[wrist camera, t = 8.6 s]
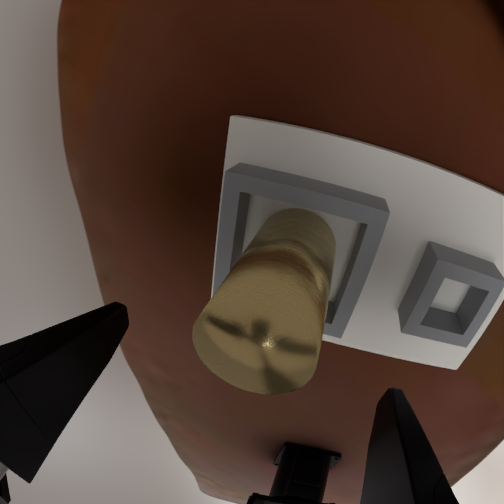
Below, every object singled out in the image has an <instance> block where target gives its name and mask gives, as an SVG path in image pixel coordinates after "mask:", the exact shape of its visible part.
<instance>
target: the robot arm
mask: <svg viewBox="0 0 504 504" xmlns="http://www.w3.org/2000/svg"><path fill="white" fill-rule="evenodd" d="M128 326H129V319H128V312H127V307H126V306H125V305H123V304H121V303H119V302H113V303H110V304H108V305H105V306H103V307H100V308H98V309H95V310H92V311H90V312H87V313H85V314H82V315H80V316H77V317H75V318H72V319H70V320H67V321H64V322H62V323H59V324H57V325H54V326H52V327H49V328H47V329H44V330H42V331H39V332H36V333H34V334H32V335H29V336H26V337H24V338H21V339H18V340H16V341H13V342H10V343H7V344H4V345H1V346H0V504H9V502H10V501H11V499H10V494H9V488H8V482H7V476H6V472H7V470H8V469H10V470H11V471H13V472H14V473H15V474H17V475H18V476H19V477H21V478H22V479H24V480H25V481H26V482H28V483H31V481H32V480H33V478H34V476H35V475H36V473H37V472H38V470H39V468H40V467H41V465H42V463H43V462H44V460H45V458H46V457H47V455H48V453H49V452H50V450H51V449H52V447H53V446H54V444H55V442H56V441H57V439H58V437H59V436H60V434H61V433H62V431H63V430H64V428H65V426H66V425H67V423H68V422H69V420H70V419H71V417H72V416H73V414H74V413H75V411H76V410H77V408H78V407H79V405H80V404H81V402H82V401H83V399H84V398H85V396H86V395H87V393H88V392H89V390H90V389H91V387H92V386H93V385H94V383H95V382H96V380H97V379H98V377H99V376H100V374H101V373H102V371H103V370H104V369H105V367H106V366H107V364H108V363H109V361H110V359H111V358H112V356H113V354H114V352H115V351H116V349H117V347H118V345H119V343H120V341H121V340H122V338H123V336H124V334H125V333H126V331H127V329H128ZM340 459H341V455H340V454H336V453H330V452H325V451H320V450H316V449H311V448H306V447H302V446H298V445H294V444H290V443H285V444H284V445H283V447H282V449H281V450H280V452H279V453H278V455H277V457H276V458H275V460H274V462H273V464H274V465H275V466H278V469H277V472H276V475H275V479H274V482H273V485H272V488H271V491H270V494H269V496H266V495H260V494H259V493H253V494H252V496H249V499H248V502H247V504H328V503H322V501H323V496H324V492H325V487H326V482H327V477H328V472H329V470H330V469H331V468H332V467H333V466H334V465H335V464H336V463H337V462H338V461H339V460H340ZM330 504H335V503H330ZM360 504H459V503H458V501H457V499H456V497H455V495H454V494H453V491H452V489H451V487H450V485H449V483H448V481H447V479H446V477H445V474H443V470H442V468H441V466H440V464H439V462H438V459H437V457H436V455H435V453H434V451H433V449H432V447H431V445H430V443H429V441H428V439H427V437H426V435H425V433H424V431H423V429H422V427H421V425H420V423H419V421H418V419H417V417H416V415H415V413H414V411H413V409H412V407H411V405H410V403H409V402H408V400H407V398H406V396H405V394H404V392H403V390H402V389H400V388H395V387H390V388H389V389H388V390H387V391H386V392H385V394H384V395H383V396H382V398H381V399H380V400H379V402H378V404H377V408H376V413H375V418H374V423H373V428H372V432H371V437H370V442H369V447H368V454H367V462H366V470H365V477H364V484H363V490H362V496H361V502H360Z"/></svg>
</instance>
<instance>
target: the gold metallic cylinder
mask: <svg viewBox="0 0 504 504" xmlns="http://www.w3.org/2000/svg"><path fill="white" fill-rule="evenodd" d="M335 253H336V241H335V237H334V234H333V232H332V230H331V228H330V227H329V225H328V224H327V223H326V222H325V221H324V220H323V219H322V218H321V217H320V216H318V215H317V214H315V213H313V212H311V211H308V210H305V209H300V208H289V209H283V210H280V211H278V212H276V213H274V214H273V215H271V216H270V217H269V218H268V219H267V220H266V221H265V222H264V223H263V225H262V226H261V228H260V229H259V231H258V232H257V233H256V235H255V236H254V238H253V239H252V241H251V242H250V243H249V245H248V246H247V248H246V249H245V251H244V252H243V253H242V255H241V256H240V258H239V259H238V261H237V262H236V263H235V265H234V266H233V268H232V269H231V271H230V272H229V273H228V275H227V276H226V278H225V279H224V281H223V282H222V283H221V285H220V286H219V288H218V289H217V291H216V292H215V294H214V295H213V296H212V298H211V299H210V301H209V302H208V304H207V305H206V307H205V308H204V309H203V311H202V312H201V314H200V315H199V317H198V318H197V320H196V322H195V323H194V327H193V332H192V337H193V343H194V347H195V349H196V352H197V353H198V355H199V357H200V358H201V360H202V361H203V363H204V364H205V365H206V366H207V367H208V368H209V369H210V370H211V371H212V372H213V373H214V374H216V375H217V376H218V377H220V378H221V379H223V380H224V381H226V382H228V383H229V384H231V385H233V386H236V387H238V388H241V389H243V390H246V391H250V392H254V393H260V394H282V393H288V392H291V391H294V390H297V389H299V388H300V387H302V386H304V385H305V384H306V383H307V382H308V381H309V380H310V379H311V378H312V376H313V375H314V373H315V370H316V367H317V362H318V357H319V352H320V347H321V342H322V336H323V331H324V325H325V319H326V314H327V308H328V301H329V295H330V289H331V282H332V275H333V268H334V261H335Z"/></svg>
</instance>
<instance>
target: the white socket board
mask: <svg viewBox="0 0 504 504" xmlns="http://www.w3.org/2000/svg"><path fill="white" fill-rule="evenodd" d="M289 208H300V209H305V210H308V211H311V212H313V213H315V214H317V215H318V216H320V217H321V218H322V219H323V220H324V221H325V222H326V223H327V224H328V225H329V227H330V228H331V230H332V232H333V234H334V237H335V241H336V253H335V261H334V268H333V275H332V282H331V289H330V295H329V301H328V308H327V314H326V319H325V325H324V331H323V336H322V340H324V341H328V342H332V343H336V344H340V345H344V346H348V347H352V348H356V349H360V350H364V351H368V352H372V353H377V354H381V355H385V356H390V357H394V358H399V359H403V360H408V361H413V362H418V363H423V364H428V365H433V366H438V367H443V368H448V369H454V370H457V368H458V367H459V366H460V365H461V363H462V362H463V361H464V359H465V358H466V357H467V355H468V354H469V352H470V351H471V350H472V348H473V347H474V345H475V344H476V343H477V341H478V340H479V338H480V337H481V335H482V334H483V332H484V331H485V329H486V328H487V326H488V325H489V323H490V321H491V320H492V318H493V317H494V315H495V313H496V312H497V310H498V308H499V307H500V305H501V303H502V302H503V300H504V194H502V193H500V192H498V191H496V190H494V189H492V188H490V187H487V186H485V185H483V184H481V183H478V182H476V181H474V180H471V179H469V178H467V177H464V176H462V175H459V174H457V173H454V172H452V171H449V170H447V169H444V168H442V167H439V166H436V165H434V164H431V163H428V162H425V161H423V160H420V159H417V158H414V157H411V156H408V155H405V154H402V153H399V152H396V151H393V150H390V149H386V148H383V147H380V146H376V145H373V144H370V143H366V142H363V141H359V140H355V139H352V138H348V137H344V136H340V135H336V134H332V133H328V132H324V131H320V130H315V129H311V128H306V127H302V126H297V125H292V124H287V123H282V122H276V121H271V120H265V119H260V118H254V117H247V116H241V115H233V116H230V123H229V130H228V138H227V146H226V154H225V163H224V171H223V180H222V189H221V198H220V207H219V217H218V227H217V237H216V247H215V258H214V269H213V281H212V293H211V298H212V296H213V295H214V294H215V292H216V291H217V289H218V288H219V286H220V285H221V283H222V282H223V281H224V279H225V278H226V276H227V275H228V273H229V272H230V271H231V269H232V268H233V266H234V265H235V263H236V262H237V261H238V259H239V258H240V256H241V255H242V253H243V252H244V251H245V249H246V248H247V246H248V245H249V243H250V242H251V241H252V239H253V238H254V236H255V235H256V233H257V232H258V231H259V229H260V228H261V226H262V225H263V223H264V222H265V221H266V220H267V219H268V218H269V217H270V216H271V215H273V214H274V213H276V212H278V211H280V210H283V209H289Z"/></svg>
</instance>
